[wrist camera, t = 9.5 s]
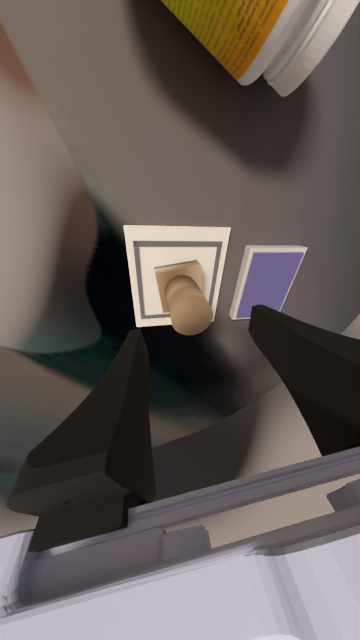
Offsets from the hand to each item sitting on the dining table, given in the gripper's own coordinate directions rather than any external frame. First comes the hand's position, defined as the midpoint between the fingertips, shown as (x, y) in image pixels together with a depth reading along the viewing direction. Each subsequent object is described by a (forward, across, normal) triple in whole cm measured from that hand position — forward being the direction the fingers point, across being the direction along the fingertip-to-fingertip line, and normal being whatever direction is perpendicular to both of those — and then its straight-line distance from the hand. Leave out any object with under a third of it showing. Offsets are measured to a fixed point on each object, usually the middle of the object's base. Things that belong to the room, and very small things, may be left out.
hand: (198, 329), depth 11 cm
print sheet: (+8, 0, 0) cm, 8 cm away
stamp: (+8, 0, 0) cm, 8 cm away
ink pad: (+8, -9, +2) cm, 12 cm away
